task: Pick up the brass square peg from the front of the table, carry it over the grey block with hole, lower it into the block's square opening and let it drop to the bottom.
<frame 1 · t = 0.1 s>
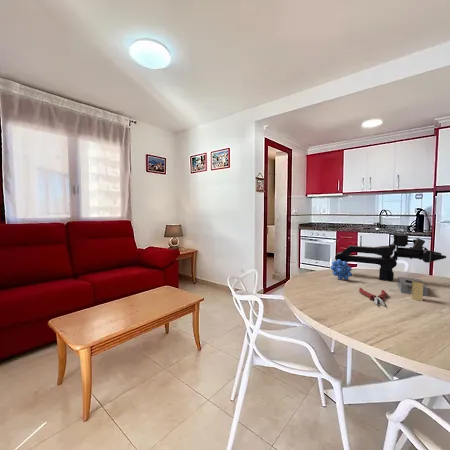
hand: (443, 255, 129), 17 cm above the table, tool horizontal, fingers open, 9 cm apart
grey block with hole: (411, 289, 124), on the table
grapes: (340, 280, 142), on the table
pliers: (371, 299, 113), on the table
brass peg: (416, 298, 111), on the table
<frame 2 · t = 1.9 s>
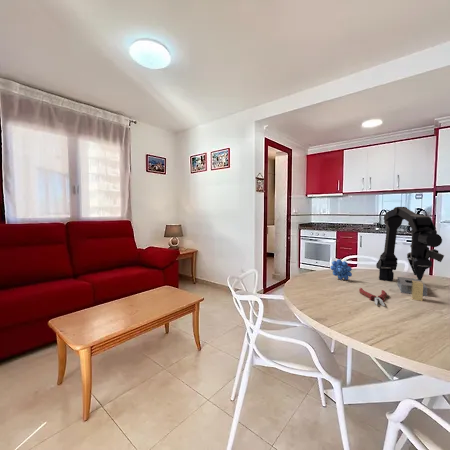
hand: (417, 277, 111), 10 cm above the table, tool pointing down, fingers open, 9 cm apart
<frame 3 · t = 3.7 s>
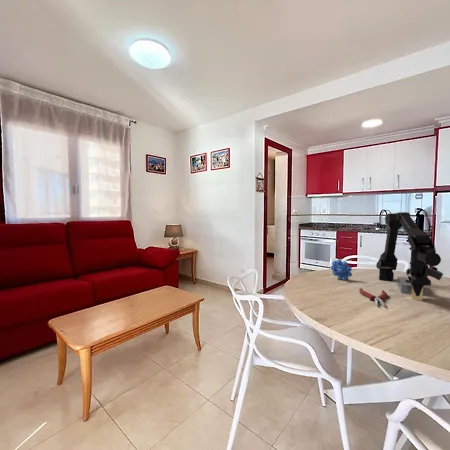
hand: (416, 294, 111), 2 cm above the table, tool pointing down, fingers closed on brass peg, 4 cm apart
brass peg: (416, 298, 111), on the table, touching gripper
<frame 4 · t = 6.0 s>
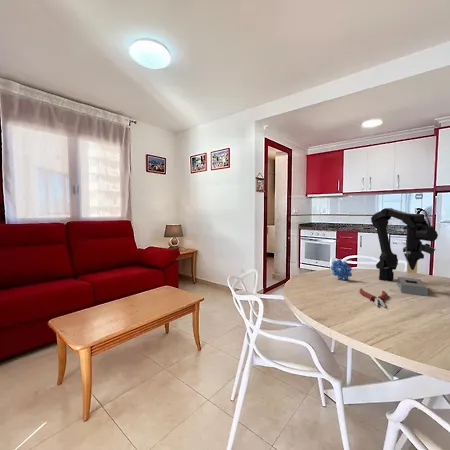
hand: (411, 268, 124), 11 cm above the table, tool pointing down, fingers closed on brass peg, 4 cm apart
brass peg: (411, 272, 124), point 9 cm above the table, touching gripper
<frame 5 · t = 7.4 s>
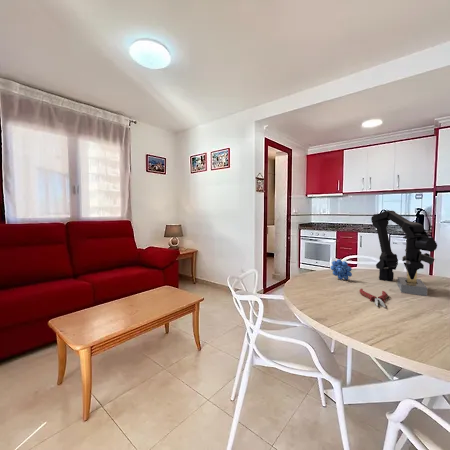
hand: (411, 278, 124), 6 cm above the table, tool pointing down, fingers closed on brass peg, 4 cm apart
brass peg: (411, 282, 124), point 4 cm above the table, touching gripper
when the fingers open (5 cm above the table, at t = 8.3 s): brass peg drops 3 cm, resting in grey block with hole.
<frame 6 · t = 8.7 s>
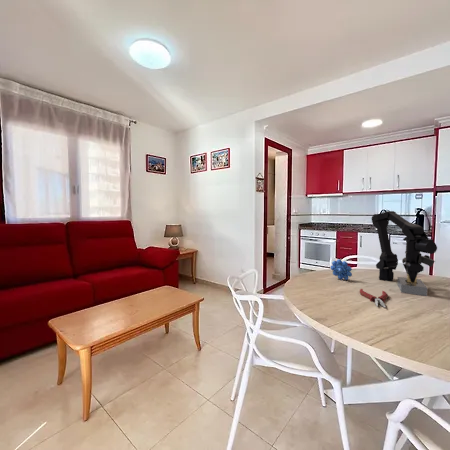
hand: (411, 280, 124), 5 cm above the table, tool pointing down, fingers open, 8 cm apart
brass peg: (410, 289, 124), resting in grey block with hole
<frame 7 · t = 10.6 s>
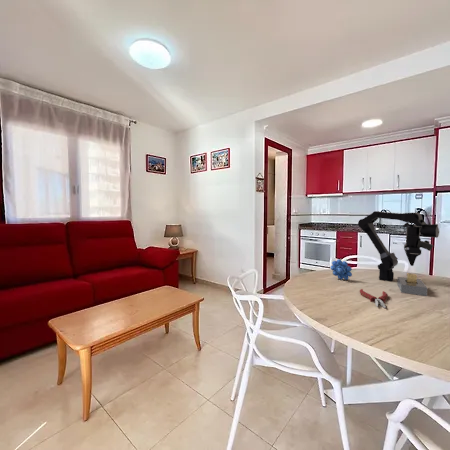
hand: (411, 264, 132), 11 cm above the table, tool pointing down, fingers open, 9 cm apart
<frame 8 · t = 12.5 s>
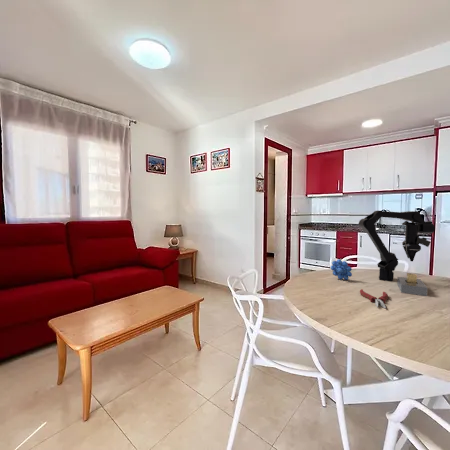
hand: (410, 259, 140), 12 cm above the table, tool pointing down, fingers open, 9 cm apart
at the end: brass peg 0.0 cm off-centre on the grey block with hole, point 0.0 cm above the grey block with hole's base; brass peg tilted 0°; the gripper is holding nothing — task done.
